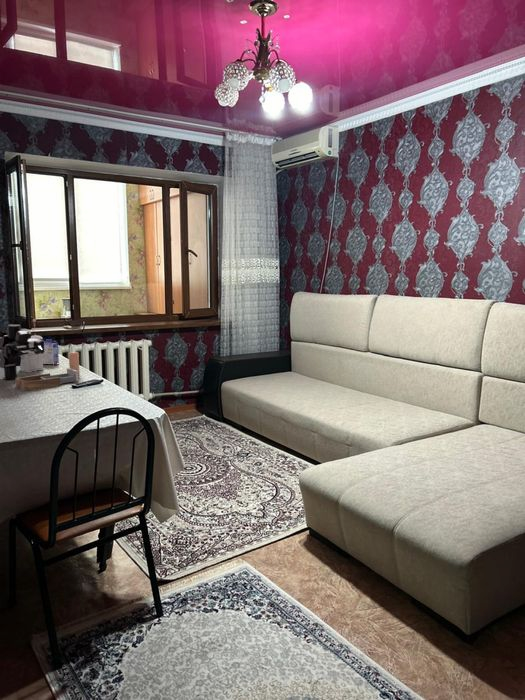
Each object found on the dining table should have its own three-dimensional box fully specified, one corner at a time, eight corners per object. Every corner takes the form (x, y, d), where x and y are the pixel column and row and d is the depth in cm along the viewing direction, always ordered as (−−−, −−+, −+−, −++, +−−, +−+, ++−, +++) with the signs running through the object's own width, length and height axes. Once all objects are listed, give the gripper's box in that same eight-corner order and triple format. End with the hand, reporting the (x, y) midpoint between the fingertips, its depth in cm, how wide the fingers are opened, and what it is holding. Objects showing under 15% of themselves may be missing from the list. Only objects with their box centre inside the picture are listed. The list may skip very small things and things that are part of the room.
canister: (68, 376, 283) (67, 352, 281) (77, 375, 287) (75, 351, 285) (72, 377, 280) (71, 353, 278) (81, 376, 283) (80, 352, 281)
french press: (24, 361, 323) (21, 319, 319) (38, 358, 333) (36, 317, 329) (37, 362, 319) (34, 320, 315) (51, 359, 330) (49, 318, 326)
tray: (39, 382, 268) (39, 372, 267) (69, 377, 278) (68, 368, 277) (48, 385, 261) (47, 375, 260) (78, 380, 271) (77, 370, 270)
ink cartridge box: (59, 363, 317) (58, 339, 314) (54, 365, 311) (52, 340, 309) (44, 363, 319) (42, 338, 316) (38, 364, 313) (37, 339, 311)
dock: (15, 386, 261) (14, 378, 260) (49, 381, 272) (49, 373, 272) (25, 390, 252) (25, 382, 252) (60, 385, 264) (60, 377, 263)
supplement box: (36, 367, 305) (34, 338, 302) (44, 370, 299) (42, 339, 296) (19, 370, 298) (17, 339, 295) (26, 372, 292) (24, 341, 289)
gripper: (-3, 332, 260) (13, 337, 250) (35, 328, 274) (51, 333, 264) (-2, 355, 262) (13, 361, 252) (35, 350, 276) (51, 356, 266)
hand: (33, 352), depth 258 cm, fingers open, 9 cm apart
